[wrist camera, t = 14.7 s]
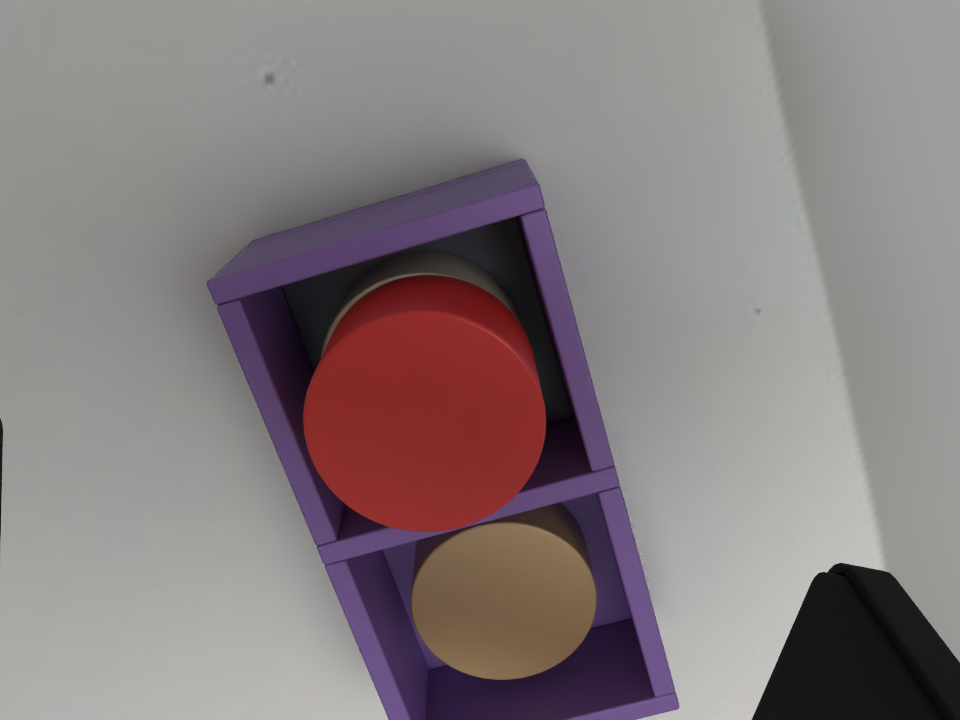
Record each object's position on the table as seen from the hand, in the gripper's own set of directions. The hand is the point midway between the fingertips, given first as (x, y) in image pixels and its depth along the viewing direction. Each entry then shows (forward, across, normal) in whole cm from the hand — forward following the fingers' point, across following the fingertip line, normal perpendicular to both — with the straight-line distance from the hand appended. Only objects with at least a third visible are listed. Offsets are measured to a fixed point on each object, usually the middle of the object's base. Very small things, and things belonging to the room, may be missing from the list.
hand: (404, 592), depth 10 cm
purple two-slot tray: (+11, -1, +4) cm, 12 cm away
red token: (+8, 0, +1) cm, 8 cm away
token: (+10, -3, +6) cm, 13 cm away
